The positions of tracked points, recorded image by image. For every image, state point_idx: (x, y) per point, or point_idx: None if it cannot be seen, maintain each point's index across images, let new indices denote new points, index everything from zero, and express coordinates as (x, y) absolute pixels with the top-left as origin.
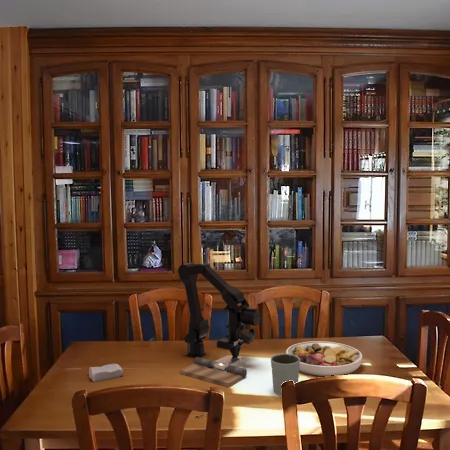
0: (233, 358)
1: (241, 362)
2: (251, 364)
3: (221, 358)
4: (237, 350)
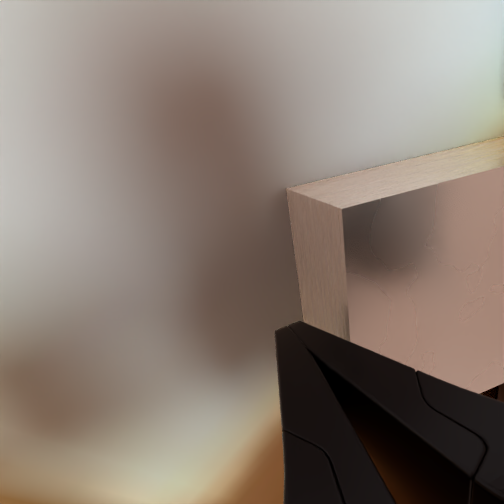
0: (397, 314)
1: (314, 196)
2: (117, 144)
3: (476, 387)
4: (424, 426)
